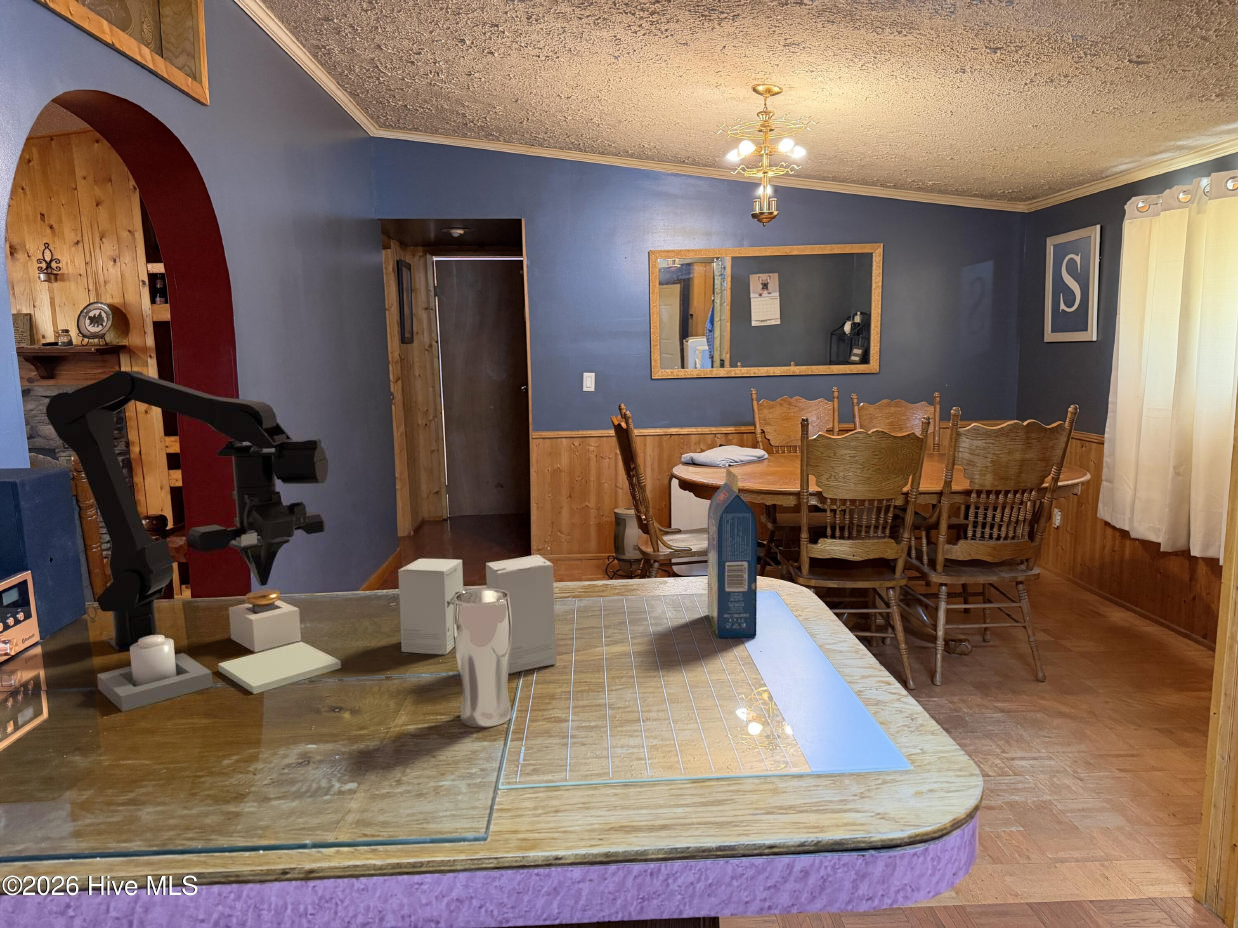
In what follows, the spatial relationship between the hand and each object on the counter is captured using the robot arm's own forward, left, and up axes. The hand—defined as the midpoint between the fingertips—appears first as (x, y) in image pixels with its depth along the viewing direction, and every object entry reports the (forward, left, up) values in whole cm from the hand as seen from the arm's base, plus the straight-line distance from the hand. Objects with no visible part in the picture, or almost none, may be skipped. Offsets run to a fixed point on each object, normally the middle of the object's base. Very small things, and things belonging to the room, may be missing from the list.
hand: (262, 585), depth 125 cm
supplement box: (+22, +16, -9) cm, 29 cm away
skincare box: (+38, +20, -9) cm, 44 cm away
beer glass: (+48, +6, -9) cm, 49 cm away
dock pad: (+14, -4, -9) cm, 17 cm away
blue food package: (+50, +53, -9) cm, 73 cm away
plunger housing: (0, 0, -9) cm, 9 cm away
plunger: (0, 0, -7) cm, 7 cm away
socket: (+8, -18, -9) cm, 22 cm away
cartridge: (+8, -18, -9) cm, 22 cm away
